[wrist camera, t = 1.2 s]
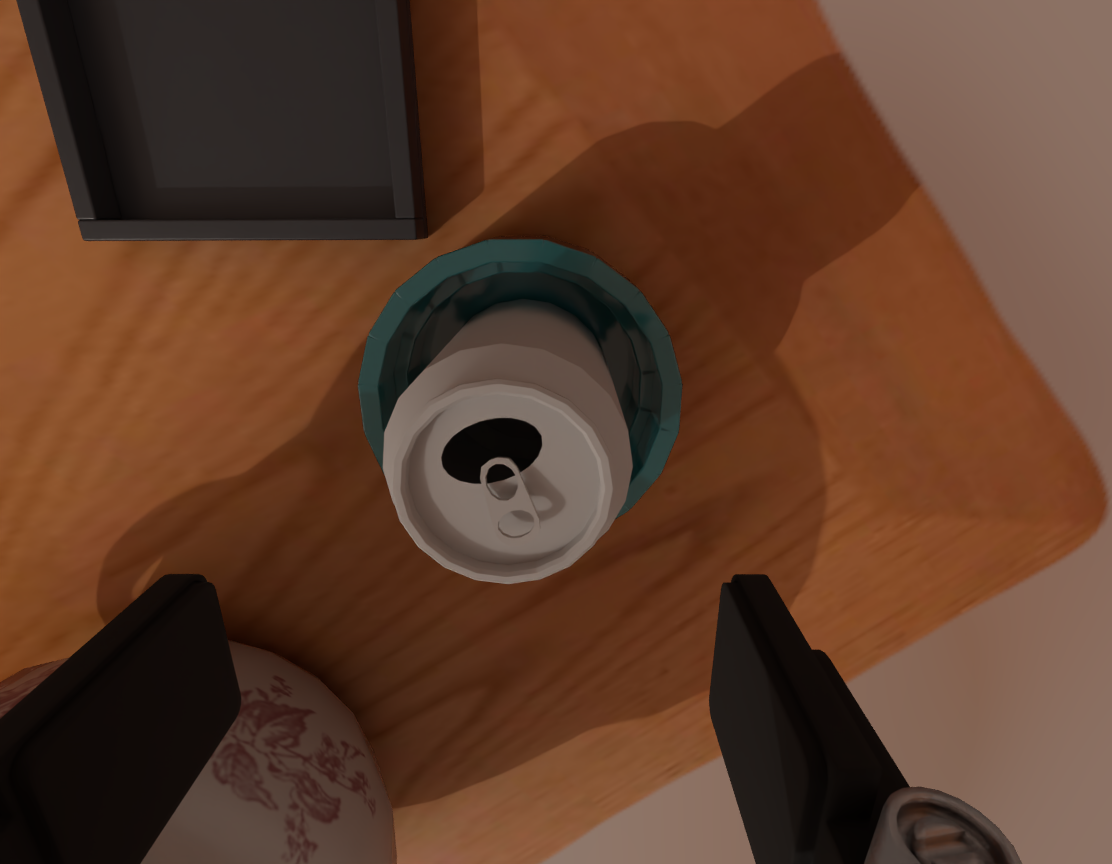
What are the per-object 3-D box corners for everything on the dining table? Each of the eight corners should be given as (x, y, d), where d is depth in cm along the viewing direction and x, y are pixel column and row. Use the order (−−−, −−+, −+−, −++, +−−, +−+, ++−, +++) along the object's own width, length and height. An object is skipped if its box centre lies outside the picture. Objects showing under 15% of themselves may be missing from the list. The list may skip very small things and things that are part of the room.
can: (578, 272, 25) (591, 316, 14) (626, 425, 28) (671, 567, 16) (421, 327, 26) (314, 410, 15) (481, 470, 28) (429, 634, 17)
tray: (16, -163, 20) (-42, -204, 18) (397, -167, 20) (379, -209, 18) (119, 239, 25) (81, 240, 23) (428, 237, 25) (417, 239, 23)
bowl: (380, 235, 25) (338, 239, 20) (669, 234, 25) (693, 238, 20) (407, 494, 29) (378, 547, 25) (653, 495, 29) (670, 547, 25)
